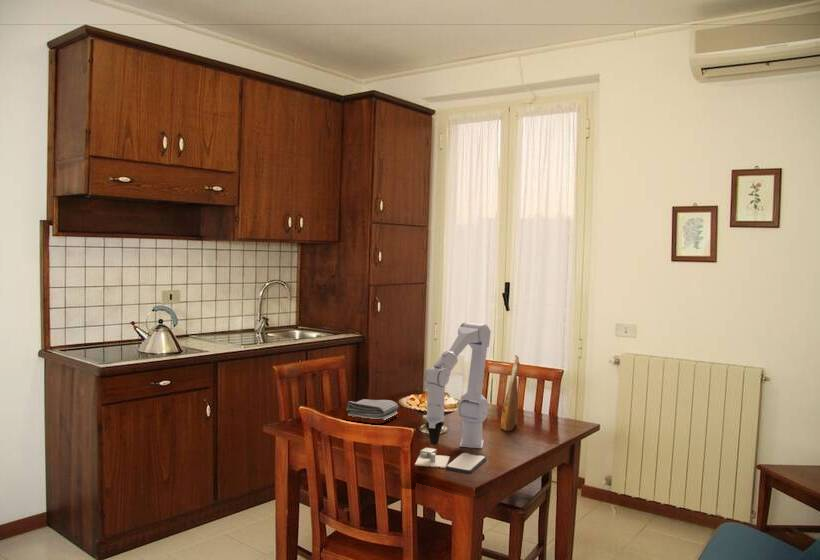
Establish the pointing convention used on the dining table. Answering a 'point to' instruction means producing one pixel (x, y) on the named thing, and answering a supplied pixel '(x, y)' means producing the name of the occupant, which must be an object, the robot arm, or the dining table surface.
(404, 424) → the dining table surface
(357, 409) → the towel
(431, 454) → the lighter
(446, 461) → the mat
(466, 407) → the robot arm
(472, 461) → the phone case
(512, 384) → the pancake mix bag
